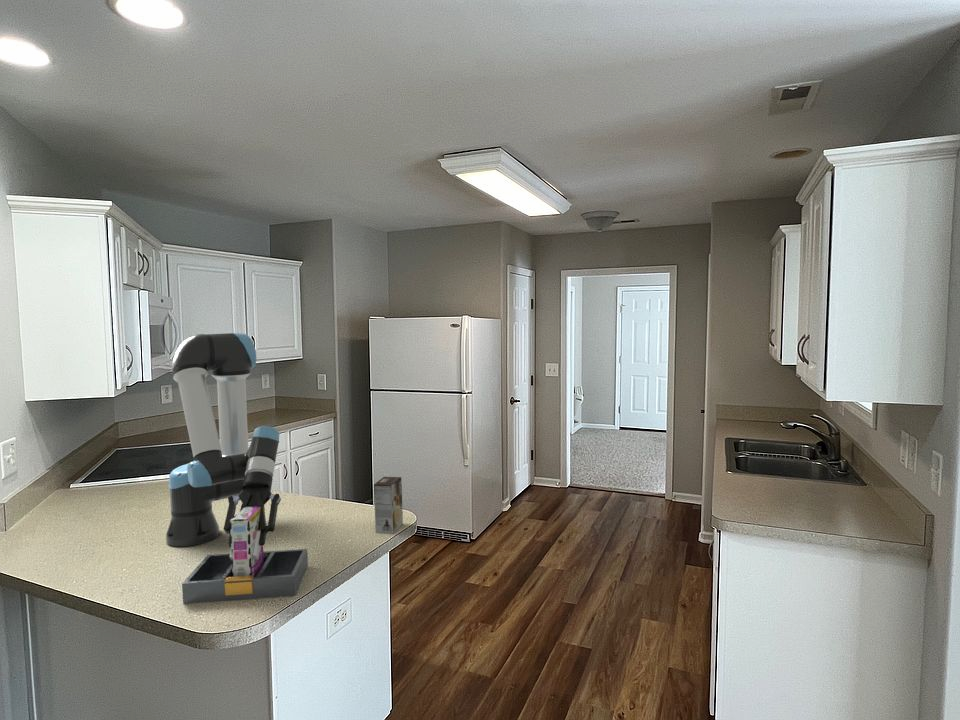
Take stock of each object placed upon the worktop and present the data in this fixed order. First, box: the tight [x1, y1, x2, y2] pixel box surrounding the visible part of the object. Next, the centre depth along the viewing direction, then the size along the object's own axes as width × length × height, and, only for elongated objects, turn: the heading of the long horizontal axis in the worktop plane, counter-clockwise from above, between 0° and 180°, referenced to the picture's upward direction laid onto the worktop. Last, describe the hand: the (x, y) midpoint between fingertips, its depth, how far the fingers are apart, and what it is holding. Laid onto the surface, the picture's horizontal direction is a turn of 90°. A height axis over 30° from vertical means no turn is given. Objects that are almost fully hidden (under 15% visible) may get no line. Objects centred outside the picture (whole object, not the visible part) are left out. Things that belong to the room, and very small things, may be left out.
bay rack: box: [181, 548, 309, 605], centre depth 147 cm, size 26×17×5 cm, turn 96°
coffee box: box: [373, 476, 404, 534], centre depth 184 cm, size 9×6×16 cm
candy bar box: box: [230, 506, 264, 577], centre depth 147 cm, size 11×5×16 cm, turn 5°
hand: (244, 558), depth 143 cm, fingers closed on candy bar box, 5 cm apart
